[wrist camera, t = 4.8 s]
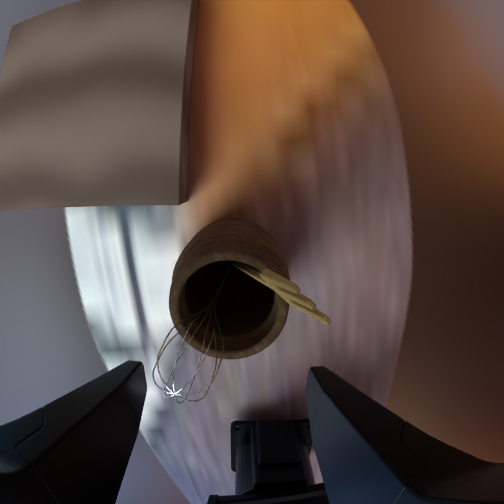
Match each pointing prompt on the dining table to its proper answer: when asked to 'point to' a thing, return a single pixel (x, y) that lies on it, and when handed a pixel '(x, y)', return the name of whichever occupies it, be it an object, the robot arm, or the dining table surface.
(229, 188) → the dining table surface
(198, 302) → the utensil holder
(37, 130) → the walnut plinth
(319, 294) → the dining table surface
